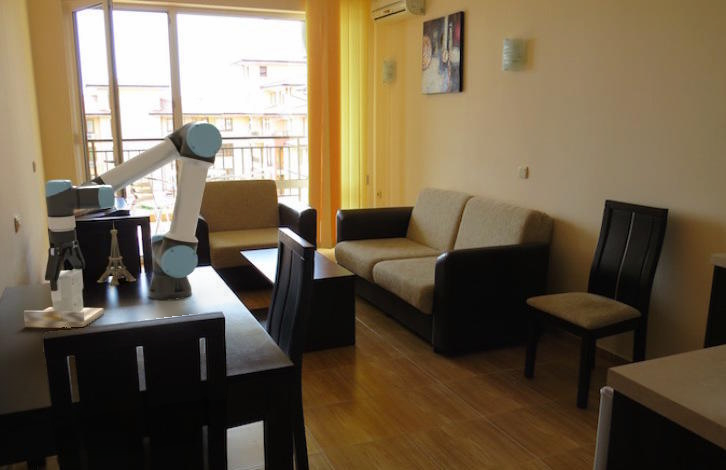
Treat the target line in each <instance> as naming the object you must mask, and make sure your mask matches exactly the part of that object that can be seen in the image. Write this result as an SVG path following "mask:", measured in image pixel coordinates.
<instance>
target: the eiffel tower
mask: <svg viewBox="0 0 726 470" xmlns="http://www.w3.org/2000/svg"><path fill="white" fill-rule="evenodd" d="M112 224H113V225H112V228H113V229H111V230H110V234H111V243H110V244H111V245H110V256H108V259H109V261H108V265H107V267H106V270H105V272H104V273H103V274H102V275H101V276H100V277H99V280H97V281H96V282H97V283H101V284H102V283H106V282H108V278H109V276H110V275H111V274H112V277H111V280H110V282H109V283H108V284H109V286H113V287H114V286H119V285H120V282H118V279H119V280H120V279H123V278H126V281H127V282H135V281H137V279H136V278H134V276H133V275H132V274H131V273H130V272H129V270H127V269H126V268H127V266H125V265H124V263H123V261H122V259H123V256H121V252H120V248H119V243H118V241H119V240H118V237H117V234H118V233H119V232H118V229H115V225H114V222H112Z"/></svg>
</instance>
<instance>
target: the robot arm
mask: <svg viewBox="0 0 726 470" xmlns="http://www.w3.org/2000/svg"><path fill="white" fill-rule="evenodd" d="M222 146H223V138H222V134H221V132H220V130H219V129H218V128H217V127H216V126H215V125H214V124H212V123H210V122H208V121H202V120H199V121H189V122H187V123H185V124H184V125H182V126H180V127H179V128H178V129H176V130H175V131H173V132H171V133H170V134H168V135H166V136H165V137H164V139H163V141H160V143H158V144H156V145H154V146H152V147H150V148H148V149H146V150H145V151H143V152H140V153H139V154H137V155H135V156H133V157H131V158H130V159H127V160H126V161H123V162H122V163H120V164H119V165H116V166H115V167H113V168H111V169H109V170H107V171H105V172H103V173H101V174H99V175H98V176H96V177H94V178H92V179H90V180H86V181H84V182H82V183H81V184H80V185H73V182H72V180H70V179H51V180H48V181H46V183H45V184H44V186H45V203H46V212H47V222H48V229H49V232H48V235H49V242H50V243H51V244H54V247H49V248H48V250H47V251H48V252H47V253H48V256H47V257H48V258H47V263H46V266H45V267H46V269H45V273H44V274H45V275H44V280H45V281H47V282H49V286H50V297H51V302H53V301H61V300H62V297H61V286H60V280H58V278H59V275H60V271H62V268H63V264H64V262H65V261H66V260H68V261H69V264H71V266H72V267H73V269H72V270H78V271H81V284H82V290H83V289H84V282H83V281H84V279H83V269H84V270H85V268H86V262H85V259H84V256H83V254H82V251H81V248H80V244H79V240H77V230H76V229H75V228H76V218H75V217H76V215H75V211H77V210H78V211H79V210H96V209H98V210H99V209H102V210H104V209H109V208H111V209H112V208H113V207H115V205H116V204H115V203H116V200H115V193H117V192H119V191H120V190H123V189H124V188H126V187H128V186H130V185H132V184H134V183H136V182H137V181H139V180H141V179H143V178H145V177H146V176H148V175H151V174H152V173H154V172H155V171H157V170H159V169H161V168H163V167H164V166H167V165H169V164H170V163H172V162H174V161H176V160H177V161H182V167H181V172H180V178H179V182H178V187H177V191H176V196H175V203H174V206H173V212H172V216H171V221H170V222H171V223H170V225H169V229H168V231H167V232H166V233H161V234H155V235H154V234H153V235H152V236H151V241H150V245H151V258H152V260H151V261H152V279H151V281H150V285H149V288H148V297H149V298H150V299H153V300H158V301H159V300H161V301H168V300H167V299H174V300H178V299H177V298H180V299H184V298H187V297H189V296H191V295H192V285H191V282H190V280H189V278H188V276H189V275H190V274H192V273H193V272H194V271H195V270H196V268H197V265H198V263H199V260H198V254H197V248H198V243H199V240H198V238H197V237H196V230H197V226H198V221H199V217H200V211H201V206H202V202H203V198H204V197H203V196H204V192H205V188H206V182H207V178H208V173H209V169H210V168H211V167H212V166H214V165H215V160H216V156H217V154H218V153H219V151H221V147H222ZM190 294H191V295H190ZM186 296H187V297H186ZM183 297H184V298H183Z"/></svg>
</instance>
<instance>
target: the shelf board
mask: <svg viewBox="0 0 726 470" xmlns="http://www.w3.org/2000/svg"><path fill="white" fill-rule="evenodd" d="M104 310H105V309H104V308H103V307H83V309H82V310H80V311H53V306H49V307H47V308H45V309H43V310H23V316H24V317H23V318H24V319H23V320H24V328H56V329H57V328H58V329H59V328H61V329H62V327H65V328H64V329H72V328H71V327H83V326H86V325H87V324H88V325H90V324H91V323H93V322H94V321H96V320H97V319H98V318H100V317H102V316H103V315H105V313H104ZM95 319H96V320H95ZM92 321H93V322H92ZM89 323H90V324H89ZM88 325H87V326H88ZM87 326H86V327H87ZM66 327H67V328H66Z"/></svg>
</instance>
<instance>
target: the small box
mask: <svg viewBox="0 0 726 470" xmlns="http://www.w3.org/2000/svg"><path fill="white" fill-rule="evenodd" d="M58 280H60V286H61V297H62V300H61V301H52V307H53V311H80V310H82V309H83V308H84V300H83V289H82V284H81V271H78V270H73V269H72V270H69V269H67V270H61V271H60V275H59V278H58Z"/></svg>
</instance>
